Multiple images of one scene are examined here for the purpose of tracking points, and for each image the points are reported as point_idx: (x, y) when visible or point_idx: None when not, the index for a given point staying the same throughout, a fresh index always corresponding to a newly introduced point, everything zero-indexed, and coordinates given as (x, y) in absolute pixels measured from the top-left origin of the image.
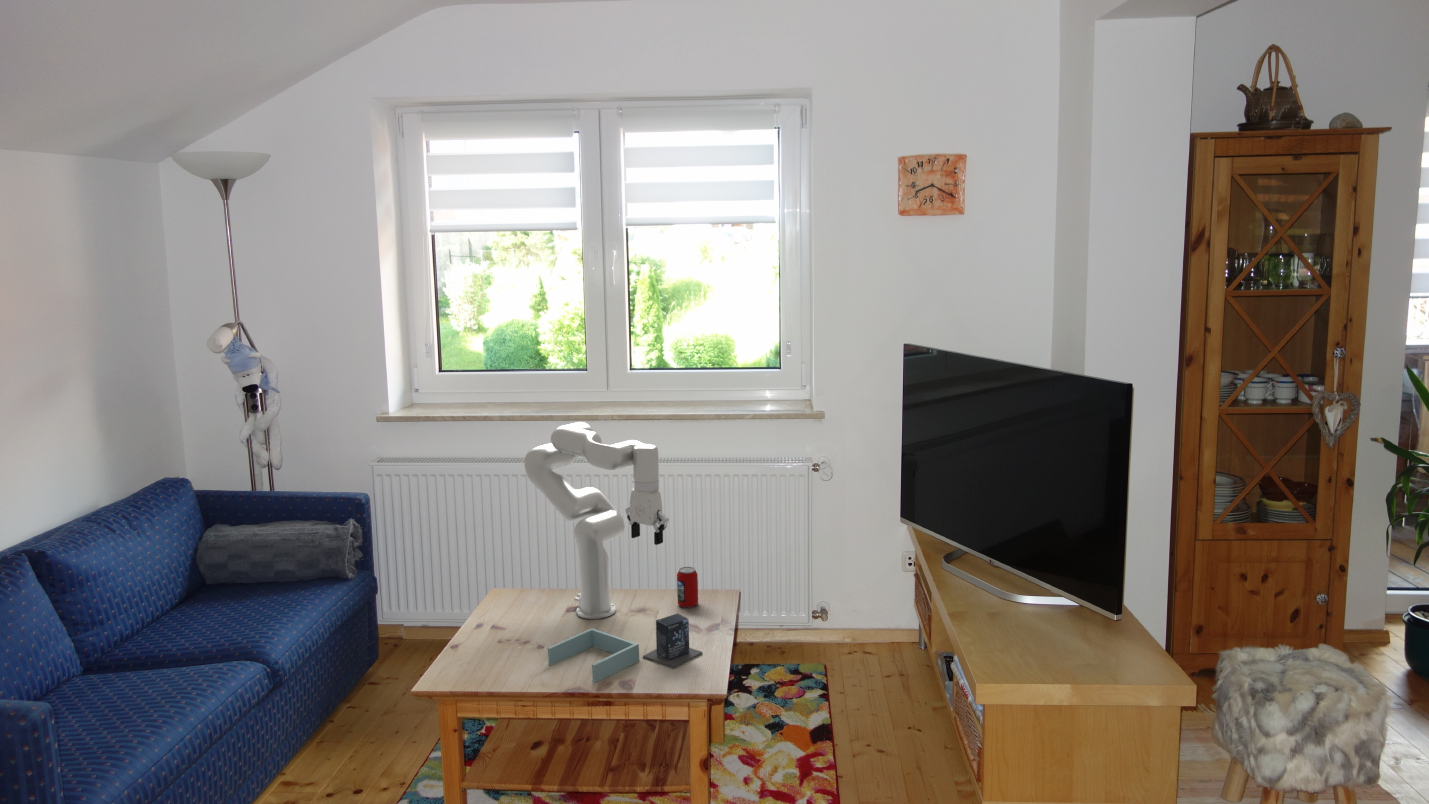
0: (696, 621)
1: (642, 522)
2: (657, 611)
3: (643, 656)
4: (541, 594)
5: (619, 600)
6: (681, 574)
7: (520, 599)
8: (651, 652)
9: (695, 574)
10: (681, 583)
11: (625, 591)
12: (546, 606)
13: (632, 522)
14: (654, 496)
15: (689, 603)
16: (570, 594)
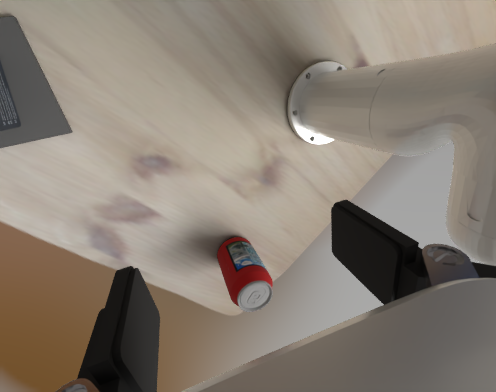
0: (156, 230)
1: (273, 375)
2: (244, 196)
3: (10, 16)
4: None
5: (328, 168)
6: (249, 279)
7: (459, 27)
8: (25, 51)
9: (234, 302)
10: (241, 265)
11: (347, 195)
12: (405, 44)
13: (437, 270)
14: None
15: (220, 251)
16: None
